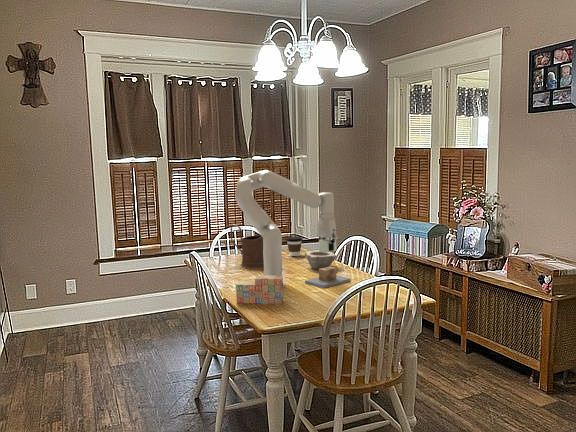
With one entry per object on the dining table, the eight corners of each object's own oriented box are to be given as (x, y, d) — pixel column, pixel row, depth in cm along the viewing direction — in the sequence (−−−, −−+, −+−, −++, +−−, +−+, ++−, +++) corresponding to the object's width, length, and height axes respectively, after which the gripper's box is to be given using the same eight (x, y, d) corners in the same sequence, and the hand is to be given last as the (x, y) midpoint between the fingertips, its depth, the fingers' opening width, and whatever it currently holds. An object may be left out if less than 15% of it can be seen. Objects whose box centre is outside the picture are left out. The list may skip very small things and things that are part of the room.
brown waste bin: (267, 268, 314) (265, 227, 311) (228, 268, 318) (226, 227, 315) (272, 262, 332) (271, 223, 329) (235, 261, 336) (234, 223, 333)
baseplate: (323, 288, 267) (323, 285, 267) (305, 283, 278) (305, 280, 278) (350, 281, 280) (350, 278, 279) (332, 276, 290) (332, 274, 290)
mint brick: (325, 252, 272) (325, 241, 271) (319, 251, 276) (318, 240, 275) (336, 250, 277) (336, 239, 276) (329, 249, 281) (329, 238, 280)
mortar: (338, 270, 306) (338, 254, 305) (310, 272, 302) (310, 256, 301) (330, 264, 322) (329, 249, 321) (303, 266, 319) (303, 251, 317)
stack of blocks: (236, 304, 244) (235, 278, 243) (239, 300, 250) (238, 275, 249) (281, 304, 241) (280, 278, 240) (283, 300, 247) (282, 275, 246)
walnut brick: (325, 281, 274) (325, 270, 273) (319, 280, 278) (318, 268, 277) (336, 279, 279) (336, 268, 278) (329, 277, 283) (329, 266, 282)
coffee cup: (295, 253, 357) (295, 236, 356) (306, 255, 349) (305, 237, 347) (283, 255, 350) (282, 238, 349) (293, 258, 342) (293, 240, 340)
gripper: (310, 215, 278) (311, 249, 281) (333, 218, 265) (333, 253, 268) (321, 213, 283) (321, 247, 285) (343, 216, 270) (344, 251, 272)
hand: (327, 249), depth 277 cm, fingers closed on mint brick, 5 cm apart
